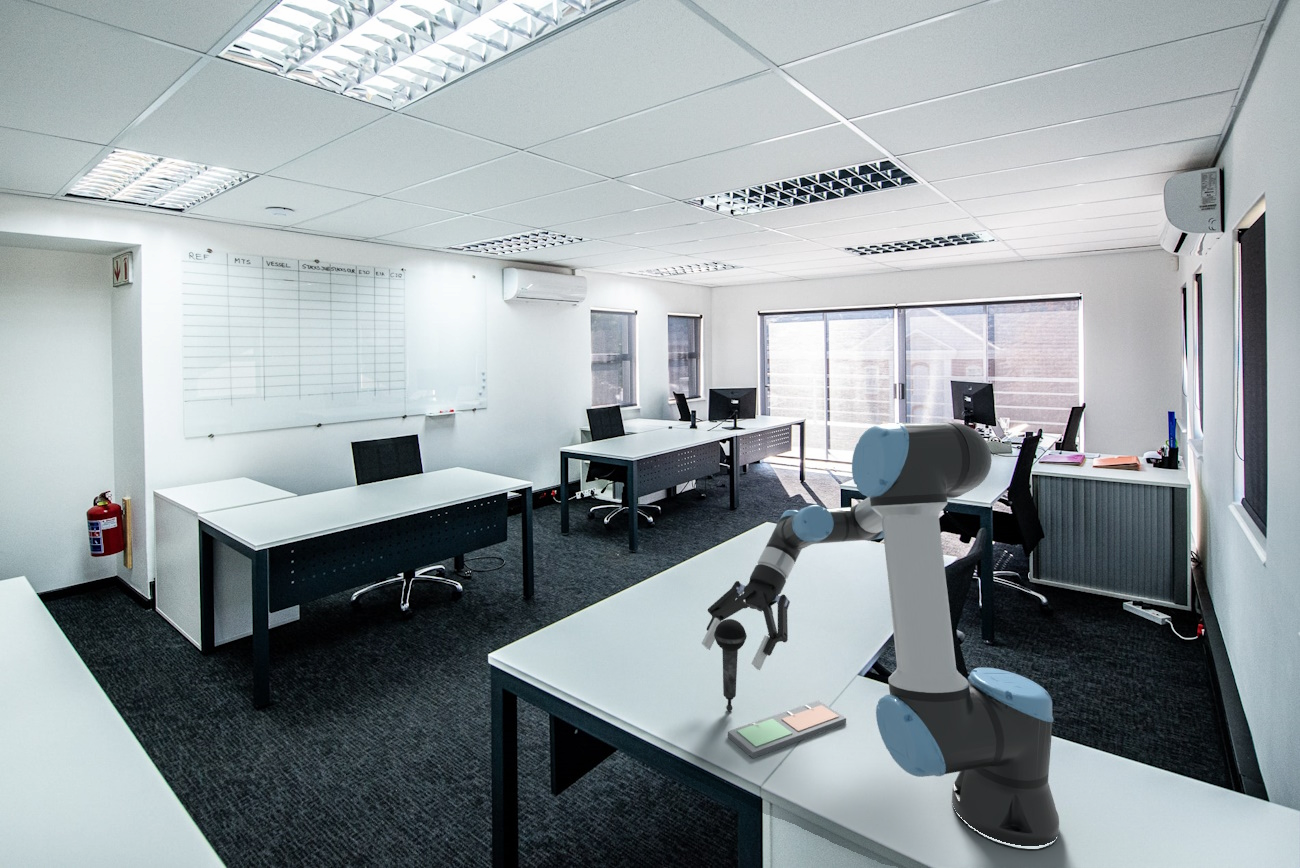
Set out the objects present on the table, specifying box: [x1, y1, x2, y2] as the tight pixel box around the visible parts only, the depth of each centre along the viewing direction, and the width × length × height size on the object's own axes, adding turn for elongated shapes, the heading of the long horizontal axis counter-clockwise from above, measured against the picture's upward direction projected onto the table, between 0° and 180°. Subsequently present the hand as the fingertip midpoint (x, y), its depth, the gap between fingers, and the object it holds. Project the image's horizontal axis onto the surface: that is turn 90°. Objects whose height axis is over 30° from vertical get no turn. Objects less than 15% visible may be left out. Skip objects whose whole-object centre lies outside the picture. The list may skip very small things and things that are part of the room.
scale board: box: [727, 699, 847, 759], centre depth 127 cm, size 8×24×1 cm, turn 119°
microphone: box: [714, 618, 748, 712], centre depth 133 cm, size 7×7×20 cm
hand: (729, 656), depth 134 cm, fingers open, 13 cm apart
